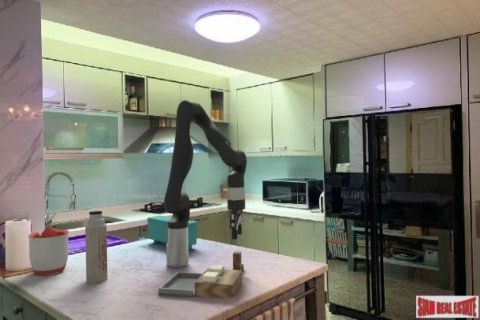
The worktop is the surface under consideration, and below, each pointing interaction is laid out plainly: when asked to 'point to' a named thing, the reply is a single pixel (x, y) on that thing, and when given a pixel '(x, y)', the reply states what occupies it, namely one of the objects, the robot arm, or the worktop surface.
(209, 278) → the tile
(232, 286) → the board
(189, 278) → the bin
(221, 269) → the tile
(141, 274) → the worktop surface
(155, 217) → the radio
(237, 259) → the scraper
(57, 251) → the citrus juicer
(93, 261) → the thermos bottle
